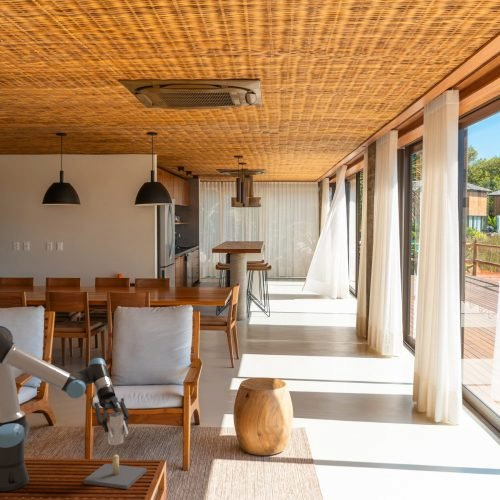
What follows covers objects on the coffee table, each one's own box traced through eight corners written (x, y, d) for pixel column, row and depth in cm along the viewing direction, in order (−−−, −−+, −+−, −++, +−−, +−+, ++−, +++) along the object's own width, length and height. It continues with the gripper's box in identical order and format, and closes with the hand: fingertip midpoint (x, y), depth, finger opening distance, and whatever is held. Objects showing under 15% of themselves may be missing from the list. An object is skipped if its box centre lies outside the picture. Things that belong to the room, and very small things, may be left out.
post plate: (83, 483, 236) (83, 460, 236) (105, 466, 253) (105, 445, 253) (127, 489, 231) (127, 465, 230) (146, 471, 248) (146, 449, 248)
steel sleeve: (105, 444, 240) (105, 416, 240) (112, 439, 246) (112, 411, 245) (118, 445, 238) (118, 417, 238) (125, 440, 244) (125, 412, 244)
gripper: (122, 391, 260) (137, 436, 247) (81, 397, 249) (94, 445, 236) (127, 382, 255) (142, 428, 242) (85, 388, 244) (99, 437, 231)
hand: (119, 436), depth 239 cm, fingers closed on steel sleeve, 6 cm apart
